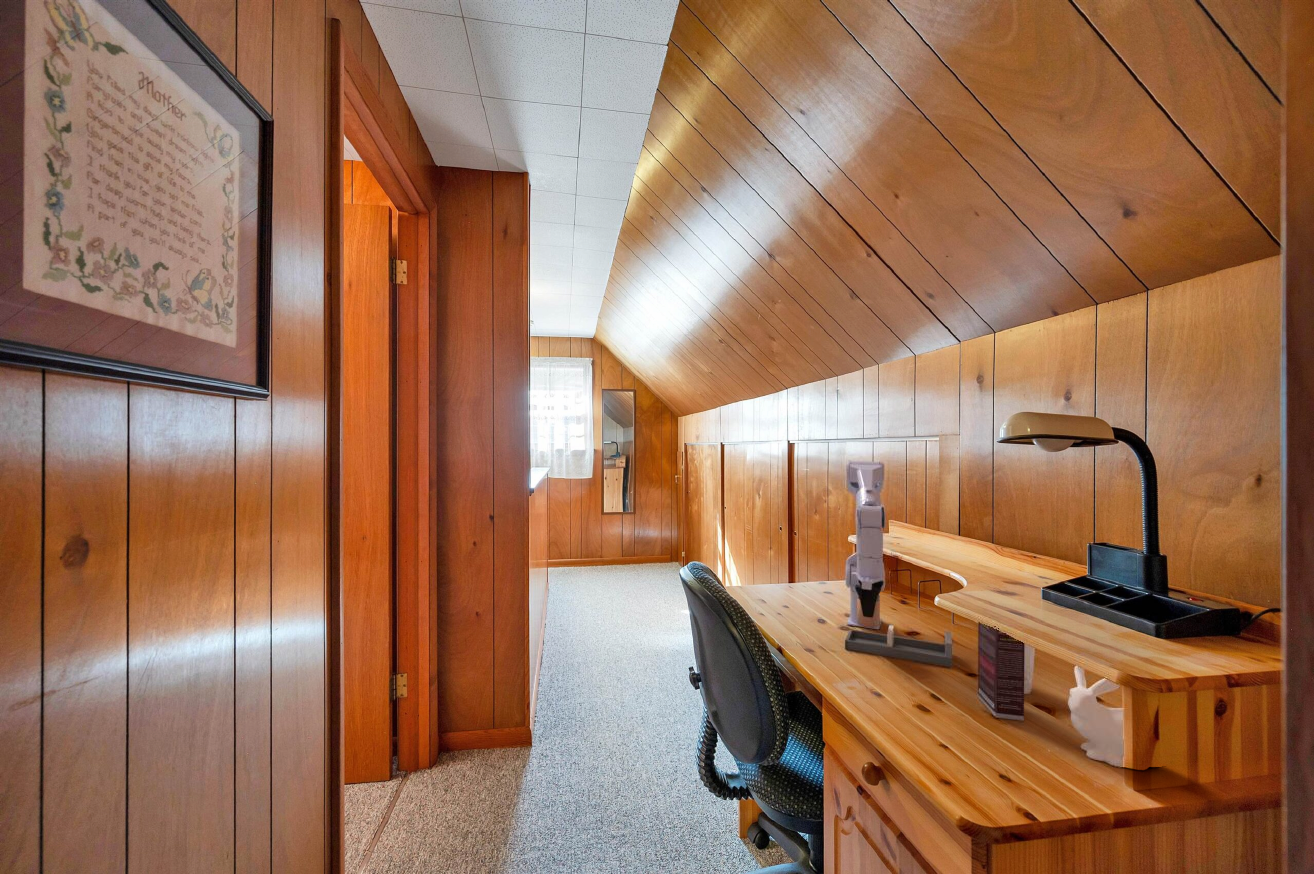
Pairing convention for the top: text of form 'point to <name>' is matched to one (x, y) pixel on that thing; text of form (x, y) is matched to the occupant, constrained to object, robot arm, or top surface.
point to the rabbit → (1097, 720)
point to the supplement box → (1001, 673)
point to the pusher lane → (902, 647)
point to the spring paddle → (890, 636)
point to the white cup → (1028, 668)
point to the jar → (868, 621)
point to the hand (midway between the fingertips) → (869, 613)
